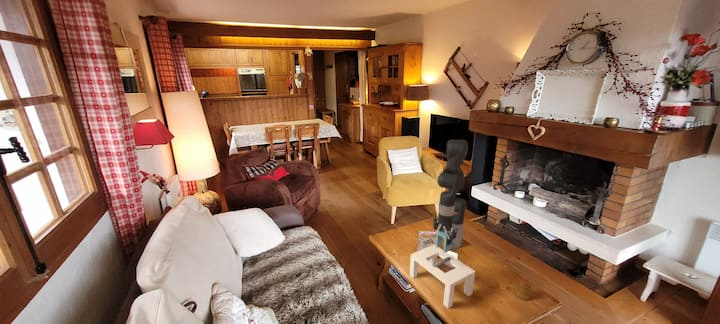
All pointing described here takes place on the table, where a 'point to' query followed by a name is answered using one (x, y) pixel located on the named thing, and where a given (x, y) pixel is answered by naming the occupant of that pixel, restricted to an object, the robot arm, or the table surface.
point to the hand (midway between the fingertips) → (443, 241)
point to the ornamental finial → (523, 290)
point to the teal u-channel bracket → (439, 240)
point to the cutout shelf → (447, 278)
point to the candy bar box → (426, 239)
